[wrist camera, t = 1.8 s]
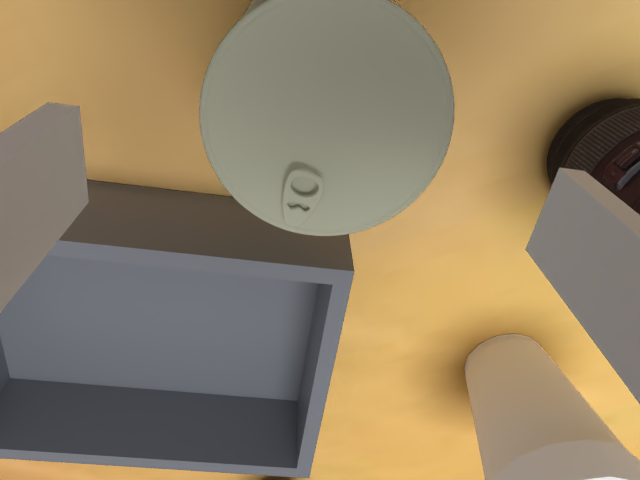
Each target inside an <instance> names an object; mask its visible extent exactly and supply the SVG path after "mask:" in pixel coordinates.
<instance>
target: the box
mask: <svg viewBox="0 0 640 480" xmlns="http://www.w3.org/2000/svg"><path fill="white" fill-rule="evenodd" d="M87 189H88V199H89V202H88V204H87V205H86V206H85V207H84V209H83V210H82V211H81V212H80V214H79V215H78V216H77V217H76V219H75V220H74V221H73V222H72V224H71V225H70V226H69V227H68V229H67V230H66V231H65V233H64V234H63V235H62V236H61V238H60V239H59V240H58V241H57V243H56V244H55V245H54V246H53V248H52V249H51V250H50V251H49V253H48V254H47V255H46V256H45V258H44V259H43V260H42V261H41V263H40V264H39V265H38V266H37V268H36V269H35V270H34V271H33V273H32V274H31V275H30V276H29V278H28V279H27V280H26V281H25V283H24V284H23V285H22V286H21V288H20V289H19V290H18V291H17V293H16V294H15V295H14V296H13V298H12V299H11V300H10V301H9V303H8V304H7V305H6V306H5V308H4V309H3V310H2V311H1V313H0V458H3V459H19V460H34V461H50V462H65V463H81V464H96V465H112V466H127V467H143V468H159V469H174V470H190V471H205V472H221V473H236V474H252V475H267V476H283V477H298V478H309V476H310V471H311V467H312V462H313V458H314V453H315V449H316V444H317V439H318V435H319V430H320V426H321V421H322V417H323V412H324V407H325V403H326V398H327V394H328V389H329V385H330V380H331V376H332V371H333V366H334V362H335V357H336V353H337V348H338V344H339V339H340V334H341V330H342V325H343V321H344V316H345V312H346V307H347V302H348V298H349V293H350V289H351V284H352V280H353V275H354V266H353V260H352V253H351V246H350V240H349V234H346V235H337V236H314V235H305V234H299V233H295V232H291V231H287V230H284V229H281V228H279V227H276V226H274V225H272V224H270V223H268V222H266V221H264V220H262V219H260V218H259V217H257V216H255V215H254V214H252V213H251V212H250V211H248V210H247V209H246V208H244V207H243V206H242V205H241V204H240V203H239V202H238V201H237V200H236V199H235V198H234V197H228V196H220V195H211V194H203V193H194V192H186V191H177V190H169V189H160V188H152V187H143V186H135V185H126V184H118V183H109V182H101V181H92V180H87Z"/></svg>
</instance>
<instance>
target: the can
mask: <svg viewBox="0 0 640 480" xmlns="http://www.w3.org/2000/svg"><path fill="white" fill-rule="evenodd" d="M453 123H454V95H453V87H452V82H451V78H450V74H449V71H448V68H447V65H446V63H445V60H444V58H443V56H442V54H441V52H440V50H439V48H438V46H437V45H436V43H435V42H434V40H433V39H432V37H431V36H430V34H429V33H428V32H427V31H426V29H425V28H424V27H423V26H422V25H421V24H420V23H419V22H418V21H417V20H416V19H415V18H414V17H413V16H411V15H410V14H409V13H408V12H407V11H405V10H404V9H403V8H401V7H400V6H398V5H397V4H395V3H393V2H392V1H390V0H253V1H252V2H251V4H250V5H249V7H248V9H247V10H246V12H245V14H244V16H243V18H242V19H241V20H239V21H238V22H237V23H236V24H235V26H234V27H233V28H232V29H231V30H230V31H229V32H228V33H227V35H226V36H225V37H224V39H223V40H222V42H221V43H220V45H219V46H218V48H217V49H216V51H215V53H214V55H213V57H212V59H211V61H210V63H209V66H208V69H207V71H206V74H205V77H204V81H203V85H202V90H201V96H200V128H201V135H202V139H203V144H204V147H205V150H206V153H207V156H208V159H209V161H210V163H211V165H212V168H213V170H214V172H215V173H216V175H217V177H218V178H219V180H220V181H221V183H222V184H223V186H224V187H225V188H226V189H227V191H228V192H229V193H230V194H231V195H232V196H233V197H234V198H235V199H236V200H237V201H238V202H239V203H240V204H241V205H242V206H243V207H244V208H246V209H247V210H248V211H250V212H251V213H252V214H254V215H255V216H257V217H259V218H260V219H262V220H264V221H266V222H268V223H270V224H272V225H274V226H276V227H279V228H281V229H284V230H287V231H291V232H295V233H299V234H305V235H314V236H337V235H346V234H351V233H355V232H359V231H363V230H366V229H369V228H371V227H374V226H376V225H379V224H381V223H383V222H385V221H387V220H388V219H390V218H392V217H394V216H395V215H397V214H398V213H400V212H401V211H403V210H404V209H405V208H406V207H408V206H409V205H410V204H411V203H412V202H413V201H414V200H416V199H417V198H418V197H419V196H420V194H421V193H422V192H423V191H424V190H425V189H426V187H427V186H428V185H429V183H430V182H431V181H432V179H433V178H434V177H435V175H436V173H437V171H438V169H439V168H440V166H441V164H442V162H443V160H444V157H445V155H446V153H447V150H448V147H449V144H450V140H451V135H452V130H453Z"/></svg>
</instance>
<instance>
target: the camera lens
mask: <svg viewBox="0 0 640 480" xmlns="http://www.w3.org/2000/svg"><path fill="white" fill-rule="evenodd" d="M559 168H566V169H574V170H582V171H585V172H587V173H588V174H589V175H590V176H592V177H593V178H594V179H595V180H597V181H598V182H599V183H600V184H602V185H603V186H604V187H605V188H607V189H608V190H609V191H610V192H612V193H613V194H614V195H615V196H617V197H618V198H619V199H620V200H622V201H623V202H624V203H625V204H627V205H628V206H629V207H630V208H632V209H633V210H634V211H635V212H637V213H638V214H639V215H640V99H608V100H604V101H599V102H597V103H594V104H592V105H589V106H587V107H585V108H584V109H582V110H581V111H579V112H578V113H576V114H575V115H573V116H572V117H571V118H570V119H569V120H568V121H567V122H566V123H565V124H564V125H563V126H562V127H561V128H560V130H559V131H558V133H557V135H556V136H555V138H554V139H553V141H552V144H551V146H550V148H549V152H548V156H547V172H548V176H549V179H550V182H551V184H553V182H554V179H555V177H556V175H557V172H558V170H559Z"/></svg>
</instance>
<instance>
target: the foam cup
mask: <svg viewBox="0 0 640 480" xmlns="http://www.w3.org/2000/svg"><path fill="white" fill-rule="evenodd" d="M464 370H465V373H466V374H465V377H466V382H467V388H468V393H469V398H470V403H471V408H472V414H473V419H474V424H475V429H476V434H477V439H478V445H479V450H480V455H481V460H482V465H483V471H484V476H485V480H640V460H639V459H638V458H637V457H635V456H634V455H633V454H632V453H630V452H629V451H628V450H626V448H625V447H624V446H623V445H622V443H621V442H620V441H619V440H618V439H617V437H616V436H615V435H614V434H613V433H612V431H611V430H610V429H609V428H608V426H607V425H606V424H605V423H604V422H603V420H602V419H601V418H600V417H599V415H598V414H597V413H596V412H595V411H594V409H593V408H592V407H591V406H590V405H589V403H588V402H587V401H586V400H585V398H584V397H583V396H582V395H581V394H580V392H579V391H578V390H577V389H576V388H575V386H574V385H573V384H572V383H571V381H570V380H569V379H568V378H567V377H566V375H565V374H564V373H563V372H562V370H561V369H560V368H559V367H558V366H557V364H556V363H555V362H554V361H553V360H552V358H551V357H550V356H549V355H548V353H547V352H546V351H545V350H544V349H543V348H542V347H541V346H540V345H539V344H538V343H537V342H536V341H535V340H533V339H532V338H531V337H528V336H523V335H519V334H507V335H500V336H495V337H493V338H491V339H489V340H487V341H485V342H483V343H481V344H479V345H478V346H477V347H476V348H475V349H474V350H473V351H472V352H471V353H470V354H469V355H468V357H467V361H466V364H465V368H464Z"/></svg>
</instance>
